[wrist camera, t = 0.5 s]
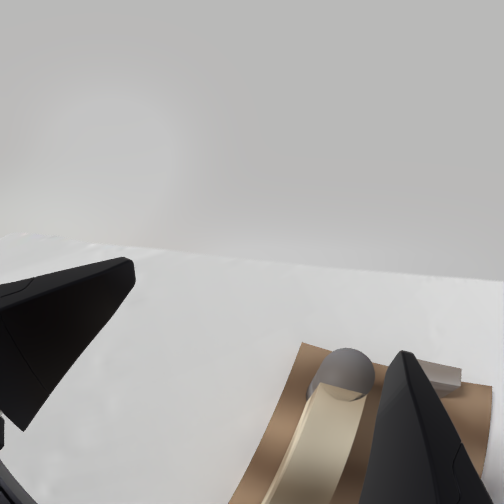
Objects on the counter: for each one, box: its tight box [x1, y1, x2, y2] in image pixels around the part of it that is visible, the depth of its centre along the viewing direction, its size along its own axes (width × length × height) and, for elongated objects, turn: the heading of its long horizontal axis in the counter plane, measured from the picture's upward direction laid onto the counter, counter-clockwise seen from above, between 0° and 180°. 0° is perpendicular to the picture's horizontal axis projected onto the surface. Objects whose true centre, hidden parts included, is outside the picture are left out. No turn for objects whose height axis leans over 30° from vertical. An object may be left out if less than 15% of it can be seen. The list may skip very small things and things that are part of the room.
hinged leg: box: [261, 348, 375, 504], centre depth 12 cm, size 16×4×5 cm, turn 157°
